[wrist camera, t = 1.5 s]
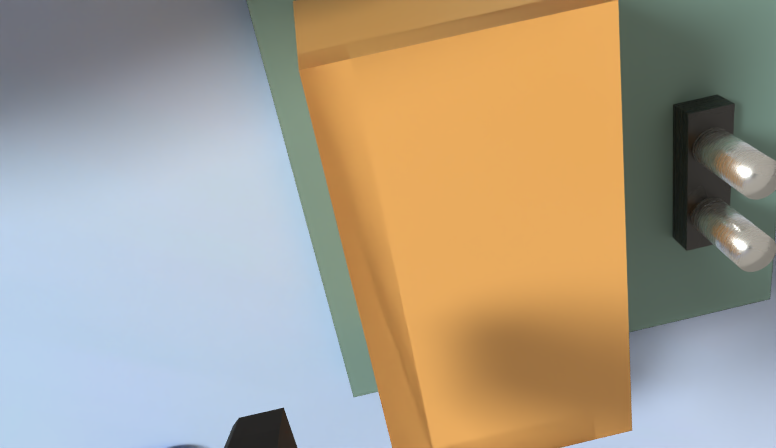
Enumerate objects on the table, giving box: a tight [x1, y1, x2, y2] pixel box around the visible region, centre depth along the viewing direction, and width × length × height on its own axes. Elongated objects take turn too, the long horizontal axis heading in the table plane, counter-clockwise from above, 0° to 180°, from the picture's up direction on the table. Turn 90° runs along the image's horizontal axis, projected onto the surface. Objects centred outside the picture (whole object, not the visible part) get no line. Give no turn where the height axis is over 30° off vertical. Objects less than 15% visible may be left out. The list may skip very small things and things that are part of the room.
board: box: [246, 0, 776, 397], centre depth 17 cm, size 20×13×1 cm, turn 11°
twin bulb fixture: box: [672, 94, 776, 272], centre depth 18 cm, size 4×1×3 cm, turn 10°
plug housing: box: [293, 0, 632, 448], centre depth 16 cm, size 12×5×6 cm, turn 11°
